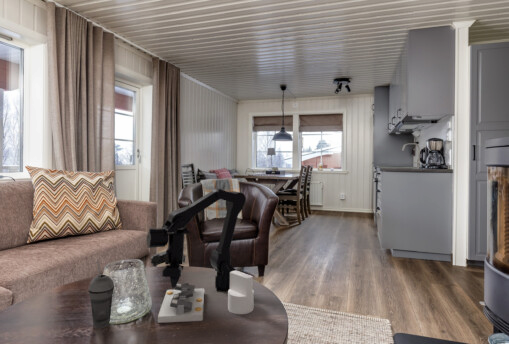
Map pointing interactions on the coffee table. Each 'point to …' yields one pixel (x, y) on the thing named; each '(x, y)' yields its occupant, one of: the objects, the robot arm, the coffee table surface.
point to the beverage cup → (101, 299)
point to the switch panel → (182, 307)
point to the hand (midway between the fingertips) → (173, 287)
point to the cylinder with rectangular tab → (240, 293)
